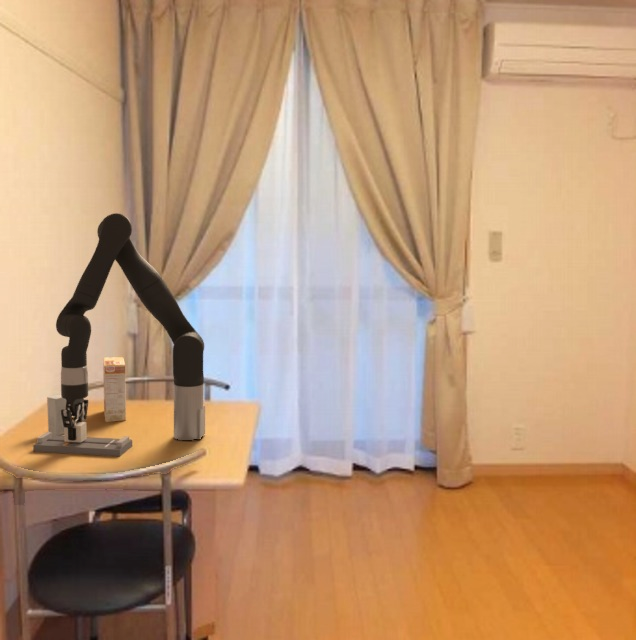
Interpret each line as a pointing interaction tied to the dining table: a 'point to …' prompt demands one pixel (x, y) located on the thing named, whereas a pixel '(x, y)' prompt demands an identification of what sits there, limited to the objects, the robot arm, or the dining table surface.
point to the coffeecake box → (114, 389)
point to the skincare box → (55, 414)
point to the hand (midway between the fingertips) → (75, 437)
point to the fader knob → (77, 432)
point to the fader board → (82, 445)
